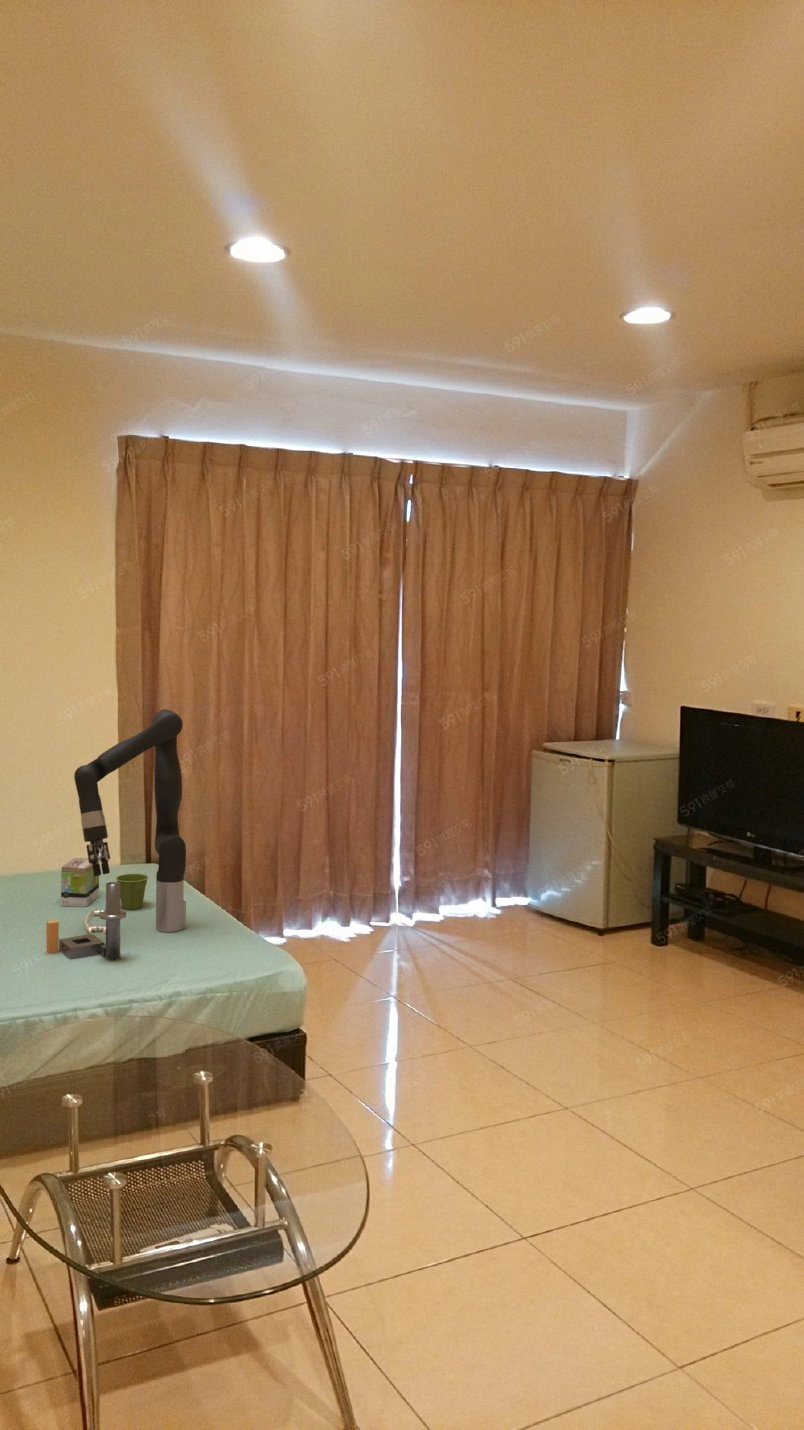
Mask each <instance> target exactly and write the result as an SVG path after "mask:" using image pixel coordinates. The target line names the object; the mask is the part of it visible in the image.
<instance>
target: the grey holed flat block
mask: <svg viewBox="0 0 804 1430" xmlns="http://www.w3.org/2000/svg"><path fill="white" fill-rule="evenodd" d="M105 910H106V911H103V912H101V911H100V912H101V913H100V916H99V918H100V919H101V920H105V924H106V933H105V942H104V941H103V940H101V939H100V938H99V937H97V936H96V935H95V934H93V933H92V934H90V933H88V934H84V935H83V934H82V935H77V936H70V937H65V938H59V952H61V951H62V952H63V953H64V956H66V957H67V958H69V959H70V960H73V959H74V960H75V959H79V958H85V957H86V958H87V957H91V956H96V955H100V956H101V957H102V958H105V960H106V961H118V960H119V959H121V920H122V919H125V918H126V917H127V912H126V911H125V910H122V909H121V898H120V883H119V882H117V881H109V882H106V883H105ZM62 952H61V953H62ZM63 953H62V954H63ZM117 959H118V960H117Z"/></svg>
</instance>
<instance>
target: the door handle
mask: <svg viewBox="0 0 804 1430" xmlns="http://www.w3.org/2000/svg"><path fill="white" fill-rule="evenodd" d="M103 911H106V909H102V910H101V911H100V909H98V908H97V907H95V908H92V909H91V910H89V913H88V914H87V915H86V917H85V918H84V927H85V928H84V929H85V932H87V933H88V934H93V932H94V933H95V932H97V930H98V932H99V933H100V932H102V934H104V935H105V934H106V923H105V925H98V926H97V925H93V926H91V925H92V924H88V922H89V920H90V919H92V917H95V916H99V917H100V913H101V912H103Z"/></svg>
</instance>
